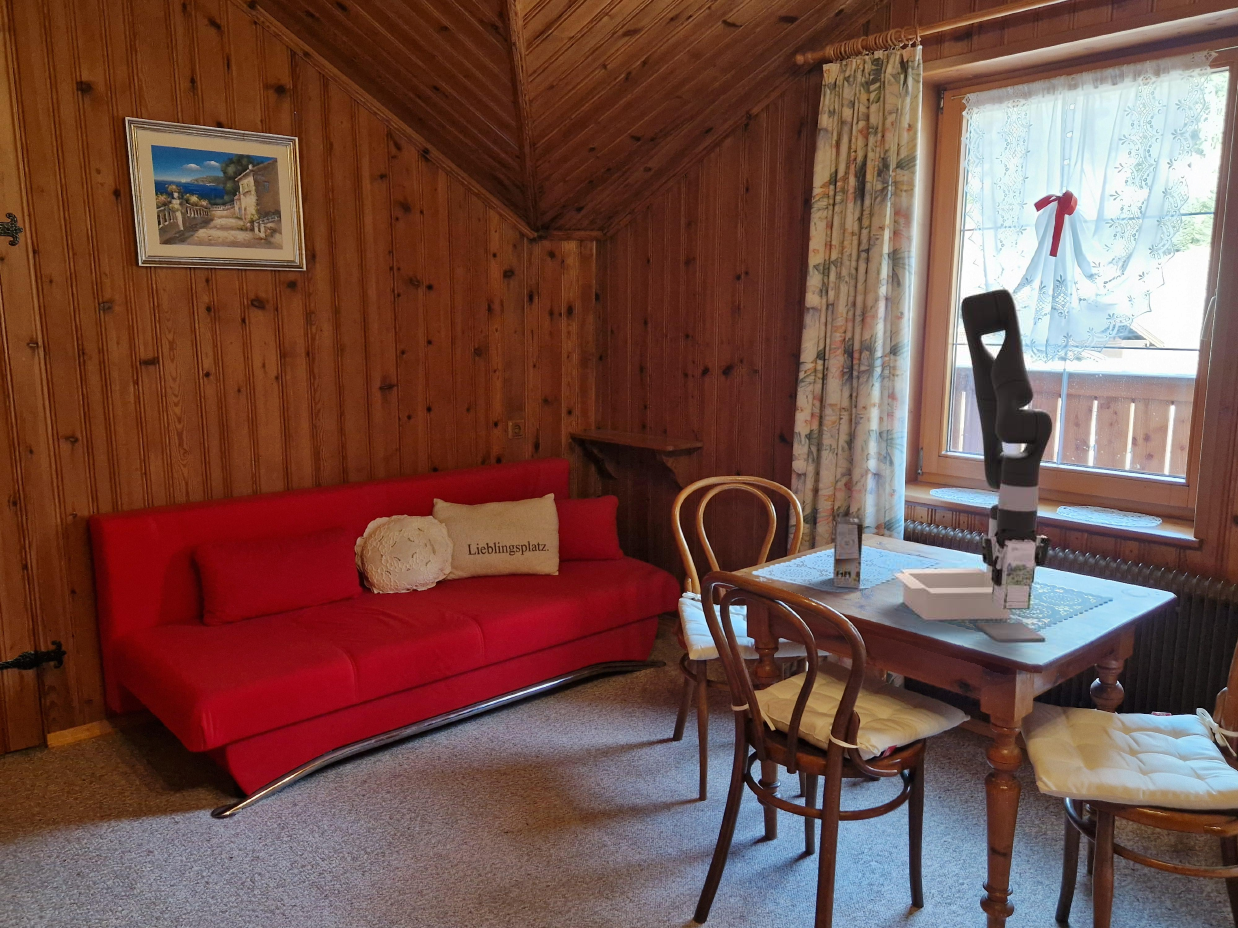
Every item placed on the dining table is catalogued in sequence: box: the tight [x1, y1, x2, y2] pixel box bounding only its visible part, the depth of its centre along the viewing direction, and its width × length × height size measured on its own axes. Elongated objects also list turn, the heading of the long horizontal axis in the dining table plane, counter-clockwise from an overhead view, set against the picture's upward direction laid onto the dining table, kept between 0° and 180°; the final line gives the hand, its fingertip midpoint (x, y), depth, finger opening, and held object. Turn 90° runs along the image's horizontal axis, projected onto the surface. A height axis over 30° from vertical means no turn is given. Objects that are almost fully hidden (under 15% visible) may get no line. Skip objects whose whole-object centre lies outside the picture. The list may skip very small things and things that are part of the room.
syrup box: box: [992, 540, 1037, 610], centre depth 190 cm, size 6×6×14 cm
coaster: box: [975, 621, 1046, 643], centre depth 192 cm, size 10×10×1 cm
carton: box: [892, 567, 1011, 621], centre depth 207 cm, size 25×19×7 cm
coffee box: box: [833, 516, 864, 589], centre depth 228 cm, size 9×6×16 cm
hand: (1012, 584), depth 191 cm, fingers closed on syrup box, 5 cm apart
